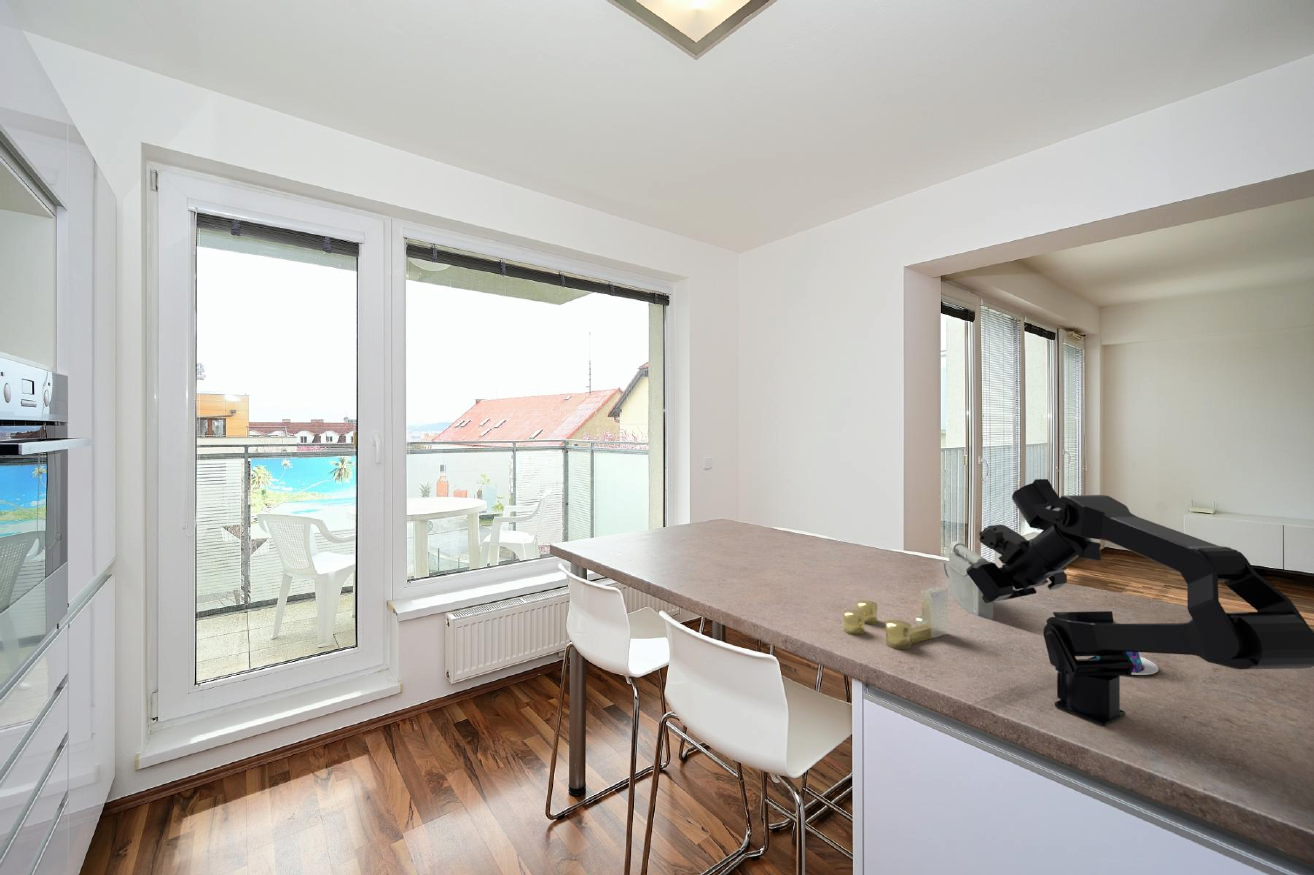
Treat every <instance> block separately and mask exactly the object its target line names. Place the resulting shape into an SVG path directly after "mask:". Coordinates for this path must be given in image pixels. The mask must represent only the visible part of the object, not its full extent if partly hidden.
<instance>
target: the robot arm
mask: <svg viewBox="0 0 1314 875" xmlns="http://www.w3.org/2000/svg"><path fill="white" fill-rule="evenodd" d="M1011 500H1012V501H1013V503H1014V504H1015V506H1016V508H1017V509H1018V511H1019V512H1020V514H1021V515H1022V517H1023V518H1024V520H1025V522H1026V523H1027V526H1029V528H1033V529H1037V530H1041V531H1040V532H1039V533H1038V534H1037V535H1036V536H1034V537H1033V538H1032V539H1031V540H1028V539H1026V538H1025V537H1024V536H1023V535H1022V534H1019V533H1018V532H1016V531H1015V530H1013V529H1012V528H1010V527H1008V526H1006V525H1004V524H994V525H988V526H987V527H983V528H984V529H983V530H982V531H979V534H978V535H979V540H978V541H979V542H980V543H981V544H983V546H985V547H987V548H989V549H990V550H993V551H995V552H996V553H997V554H1000V555H999V557H998V560H999V561H1000V562H1001V563H1002V565H1001V567H999V566H998V565H997V564H996V563H995V562H992V561H989V560H987V561H985V562H978V563H973V564H972V565H971V566H970V567H969V568H967V571H966V573H967V574H968V575H969V576H970V578H971V579H972V580H973V582H974V583H975V584H976V586H977V587H978V588H979V590H980V591H981V592H982V594H983V596H982V599H983V601H984V602H985V603H990V602H993V603H994V602H1000V601H1006V600H1011V599H1016V598H1021V597H1025V596H1030V595H1034V594H1035V595H1036V594H1037V589H1036V587H1042V586H1045V585H1047V584H1048V583H1049V581H1050V583H1049V584H1048V585H1047V586H1046V587H1047V589H1048V590H1049V591H1051V590H1057V589H1060V588H1062V587H1063V586H1064V585H1066V584H1068V575H1067V573H1066V572H1065V571H1067V570H1068V567H1067V566H1068V565H1069V564H1070V563H1071V562H1073V561H1074V560H1076V559H1077V558H1078V557H1079V558H1080V559H1084V560H1085V559H1087V560H1092V561H1097V562H1100V561H1101V560H1102V551H1101V546H1102V544H1101V543H1100V542H1095V541H1094V540H1102V541H1106V542H1109V543H1112V544H1114V545H1116V546H1118V547H1120V548H1123V549H1126V550H1128V551H1130V552H1132V553H1135V554H1137V555H1140V556H1141V557H1144V558H1146V559H1149V560H1150V561H1152V562H1156V563H1157V564H1160V565H1162V566H1163V567H1164V566H1165V567H1167V568H1169V569H1171V570H1174V571H1175V572H1178V573H1180V575H1181V577H1182V578H1183V580H1184V582H1185V583H1186V585H1187V589H1186V590H1187V595H1186V596H1187V597H1186V598H1187V607H1186V608H1187V612H1188V613H1189V615H1190V617H1191V619H1190V620H1188V621H1187V622H1169V623H1168V622H1164V623H1163V622H1160V623H1159V622H1156V623H1154V622H1152V623H1150V622H1147V623H1120V622H1119V623H1118V622H1116V621H1115V620H1114V616H1113V611H1112V610H1109V611H1108V610H1107V611H1106V610H1102V611H1100V610H1099V611H1095V610H1094V611H1054V612H1052V614H1053V616H1050V617H1048V618H1047V619H1046V621H1045V622H1046V625H1045V626H1043V627H1044V628H1043V632H1042V634H1043V639H1044V642H1045V646H1046V650H1047V654H1048V658H1049V660H1048V661H1049V663H1050V665H1051V666H1053V667H1054V668H1055V670H1056V672H1057V673H1056V684H1057V685H1056V689H1057V690H1056V691H1057V692H1056V694H1057V695H1056V697H1057V699H1058V700H1056V701H1054V706H1055V707H1056V708H1059V709H1061V710H1064V711H1066V712H1068V713H1071V714H1073V715H1074V716H1075V715H1076V716H1078V717H1080V718H1083V719H1085V720H1087V721H1090V722H1093V723H1095V724H1097V725H1100V726H1107V725H1109V724H1112V723H1113V722H1115V721H1117V720H1120V719H1121V718H1123V717H1125V716H1126V714H1127V712H1126V711H1125V710H1124V709H1123V710H1122V709H1120V707H1121V704H1120V702H1121V701H1120V698H1121V697H1120V693H1121V690H1120V689H1121V686H1120V684H1121V683H1120V681H1121V680H1120V678H1121V677H1122V676H1123V677H1130V676H1131V675H1132V674H1131V673H1133V672H1132V671H1133V668H1134V664H1133V662H1132V661H1131V659H1130V658H1129V656H1128V655H1127V653H1126V652H1139V653H1149V654H1167V655H1169V654H1170V655H1189V656H1195V657H1198V658H1201V660H1204V661H1205V662H1207V663H1210V664H1214V665H1218V666H1223V667H1227V668H1231V669H1235V670H1288V669H1290V670H1292V669H1293V670H1296V669H1297V670H1298V669H1311V668H1313V667H1314V631H1313V629H1312V628H1311V627H1310V626H1309V625H1308V623H1307V621H1306V619H1305V618H1304V617H1303V616H1302V614H1301V613H1300V612H1299V610H1298V609H1297V607H1296V605H1295V603H1293V601H1292V600H1291V598H1289V597H1288V596H1287V595H1285V594H1284V593H1283V591H1280V590H1279V589H1278V588H1276V587H1275V586H1274V585H1272V583H1270V582H1269V581H1268V580H1266V579H1265V578H1264V577H1262V576H1261V575H1260V574H1258V573H1257V572H1256V570H1255V569H1254V568H1253V566H1252V565H1251V563H1250V561H1249V560H1248V558H1247V557H1246V556H1245V555H1244V554H1243V553H1242V552H1241V551H1239V550H1237V549H1235V548H1234V549H1233V548H1231V547H1229V546H1223V545H1222V546H1221V545H1218V544H1214V543H1212V542H1208V541H1207V540H1203V539H1201V538H1198V537H1195V536H1192V535H1189V534H1187V533H1184V532H1181V531H1178V530H1176V529H1173V528H1170V527H1167V526H1164V525H1162V524H1159V523H1156V522H1154V521H1150V520H1149V519H1148V520H1147V519H1145V518H1142V517H1139V516H1137V515H1135V514H1133V513H1131V511H1130V509H1129V508H1128V506H1127V505H1125V504H1124V503H1123V502H1121V501H1118V500H1116V499H1115V498H1113V497H1111V496H1109V495H1106V494H1084V495H1083V494H1081V495H1074V494H1073V495H1071V494H1070V495H1061V496H1059V494H1058V493H1057V492H1056V491H1055V489H1054V487H1053V485H1052V484H1051V481H1049V479H1048V478H1039V479H1038V478H1036V479H1034V481H1033V482H1032V483H1028V484H1026V485H1023V486H1022V487H1020V488H1018V489H1016V490H1015V491H1013V493H1012V495H1011ZM1092 539H1093V540H1092ZM1048 580H1049V581H1048ZM1219 583H1224V585H1225V586H1226V587H1227V588H1228V589H1230V590H1231V591H1232V592H1233V593H1235V594H1236V595H1237V596H1238V597H1240V598H1242V600H1244V601H1245V603H1247V604H1249V606H1251V607H1252V608H1253V609H1255V610H1256V611H1238V612H1237V611H1235V612H1231V611H1227V612H1226V611H1225V609H1224V607H1223V606H1222V604H1221V602H1220V600H1219V598H1220V596H1219ZM1094 656H1099V657H1100V659H1088V658H1082V659H1078V658H1077V657H1094Z"/></svg>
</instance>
